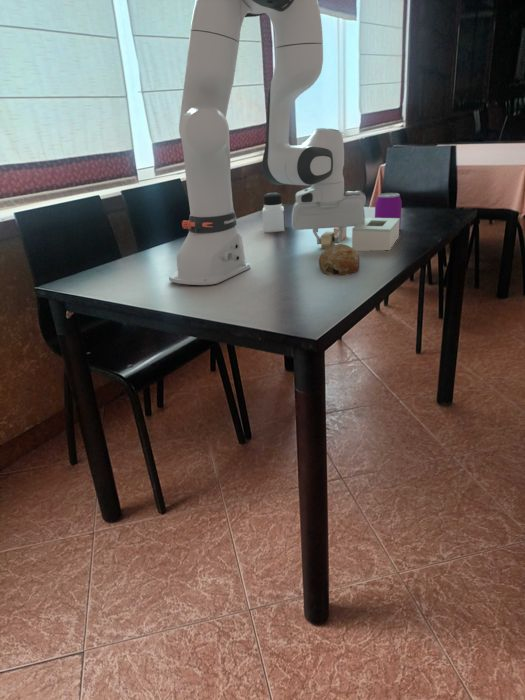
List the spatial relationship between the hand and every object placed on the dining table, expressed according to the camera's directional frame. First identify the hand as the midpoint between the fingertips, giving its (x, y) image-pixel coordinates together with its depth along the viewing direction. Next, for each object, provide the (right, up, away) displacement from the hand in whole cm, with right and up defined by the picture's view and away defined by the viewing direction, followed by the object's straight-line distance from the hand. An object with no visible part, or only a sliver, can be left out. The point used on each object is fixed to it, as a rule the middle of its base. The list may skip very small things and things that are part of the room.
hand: (328, 243), depth 140 cm
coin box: (+13, -2, -2) cm, 13 cm away
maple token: (0, -2, +1) cm, 2 cm away
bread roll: (+1, -11, -18) cm, 21 cm away
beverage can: (+20, +5, +11) cm, 23 cm away
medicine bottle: (-15, +11, +28) cm, 33 cm away
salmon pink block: (+5, +2, +8) cm, 9 cm away
